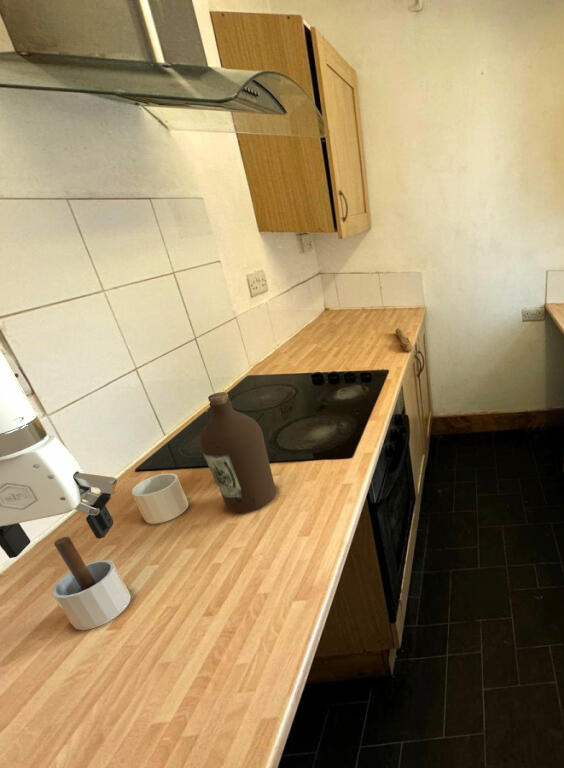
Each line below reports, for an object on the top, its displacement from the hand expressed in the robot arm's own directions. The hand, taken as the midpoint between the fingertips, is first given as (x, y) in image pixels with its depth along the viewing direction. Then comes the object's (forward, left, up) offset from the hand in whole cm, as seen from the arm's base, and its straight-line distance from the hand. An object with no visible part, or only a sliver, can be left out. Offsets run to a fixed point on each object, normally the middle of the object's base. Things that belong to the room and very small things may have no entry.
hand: (64, 540), depth 60 cm
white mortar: (0, 0, -14) cm, 14 cm away
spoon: (0, 0, -14) cm, 14 cm away
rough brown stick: (+60, +121, -15) cm, 136 cm away
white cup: (+1, +24, -14) cm, 28 cm away
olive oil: (+17, +22, -15) cm, 31 cm away
